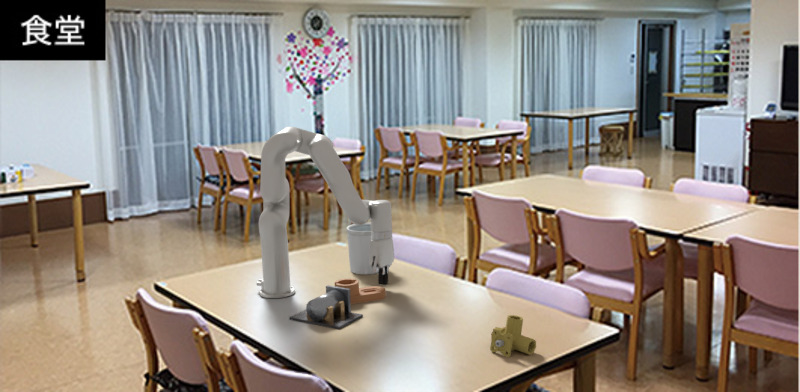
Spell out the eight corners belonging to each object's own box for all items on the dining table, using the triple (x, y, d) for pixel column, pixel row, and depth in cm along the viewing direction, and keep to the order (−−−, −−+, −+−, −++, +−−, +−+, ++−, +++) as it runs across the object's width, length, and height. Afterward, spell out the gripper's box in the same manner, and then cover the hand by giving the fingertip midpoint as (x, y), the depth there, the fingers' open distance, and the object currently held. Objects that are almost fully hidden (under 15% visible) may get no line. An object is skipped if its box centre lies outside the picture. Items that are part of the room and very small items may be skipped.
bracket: (339, 306, 271) (338, 286, 270) (332, 299, 279) (331, 280, 278) (388, 299, 278) (388, 279, 276) (380, 292, 285) (380, 273, 284)
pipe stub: (289, 319, 259) (288, 294, 258) (316, 306, 271) (314, 283, 269) (339, 329, 249) (338, 303, 247) (364, 315, 260) (363, 291, 259)
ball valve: (500, 344, 235) (479, 349, 227) (504, 310, 233) (483, 314, 226) (535, 357, 226) (515, 363, 219) (540, 322, 225) (520, 327, 217)
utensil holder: (371, 277, 304) (370, 232, 301) (340, 272, 312) (338, 228, 309) (393, 267, 316) (391, 224, 313) (362, 263, 324) (361, 221, 321)
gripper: (384, 229, 292) (385, 277, 296) (361, 238, 280) (363, 288, 283) (401, 231, 289) (403, 280, 292) (379, 240, 276) (380, 291, 279)
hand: (383, 284), depth 288 cm, fingers closed
